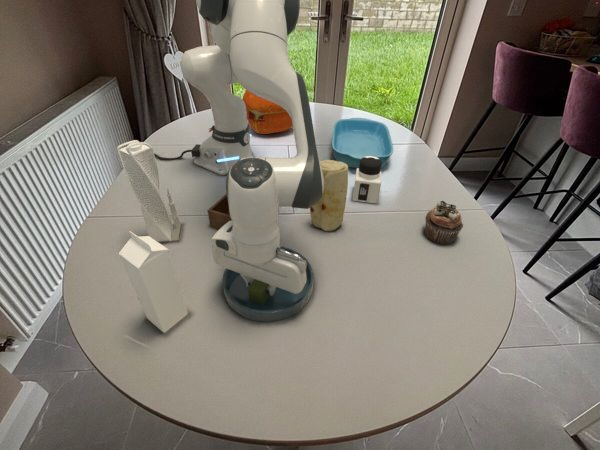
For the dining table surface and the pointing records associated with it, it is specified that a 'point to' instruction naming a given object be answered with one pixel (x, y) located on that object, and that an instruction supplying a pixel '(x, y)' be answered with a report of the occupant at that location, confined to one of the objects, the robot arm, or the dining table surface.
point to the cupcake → (443, 223)
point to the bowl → (275, 305)
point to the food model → (331, 196)
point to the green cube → (258, 292)
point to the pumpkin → (266, 115)
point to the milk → (154, 280)
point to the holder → (219, 213)
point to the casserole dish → (361, 141)
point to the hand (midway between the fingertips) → (260, 289)
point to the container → (368, 180)
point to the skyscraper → (149, 191)
